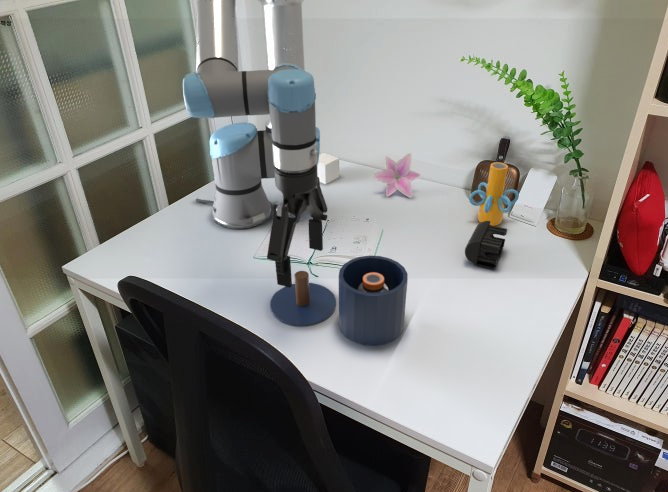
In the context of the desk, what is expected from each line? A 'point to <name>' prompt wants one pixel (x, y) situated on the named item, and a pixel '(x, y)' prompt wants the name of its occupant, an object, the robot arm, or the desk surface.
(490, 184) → the yellow tubular piece
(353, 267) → the canister
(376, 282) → the pill bottle
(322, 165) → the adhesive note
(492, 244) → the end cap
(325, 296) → the lid
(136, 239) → the desk surface
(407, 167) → the lily
